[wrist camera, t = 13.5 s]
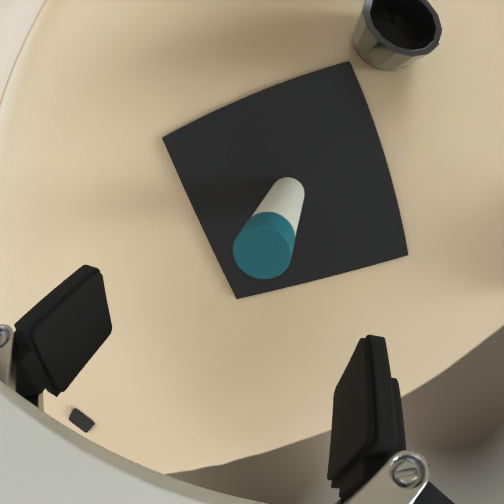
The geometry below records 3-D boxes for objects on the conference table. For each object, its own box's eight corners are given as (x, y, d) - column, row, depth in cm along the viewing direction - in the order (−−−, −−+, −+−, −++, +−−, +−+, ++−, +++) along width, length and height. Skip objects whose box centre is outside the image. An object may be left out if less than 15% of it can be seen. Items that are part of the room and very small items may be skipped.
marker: (265, 183, 29) (223, 235, 17) (298, 172, 28) (278, 217, 16) (278, 213, 30) (246, 284, 18) (309, 203, 29) (299, 271, 17)
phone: (68, 419, 72) (73, 409, 65) (69, 417, 73) (74, 407, 66) (86, 433, 73) (93, 425, 66) (87, 431, 74) (95, 423, 67)
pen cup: (342, 23, 21) (348, -8, 14) (397, 12, 19) (420, -18, 12) (367, 77, 23) (383, 62, 16) (421, 64, 21) (454, 50, 14)
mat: (163, 137, 29) (161, 137, 29) (348, 61, 22) (349, 61, 22) (237, 297, 36) (236, 299, 35) (407, 253, 29) (408, 255, 28)
